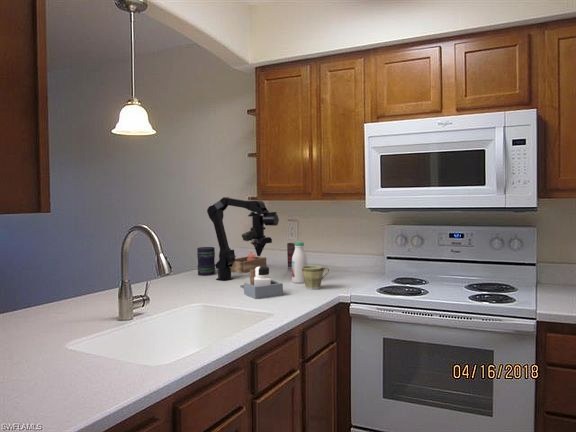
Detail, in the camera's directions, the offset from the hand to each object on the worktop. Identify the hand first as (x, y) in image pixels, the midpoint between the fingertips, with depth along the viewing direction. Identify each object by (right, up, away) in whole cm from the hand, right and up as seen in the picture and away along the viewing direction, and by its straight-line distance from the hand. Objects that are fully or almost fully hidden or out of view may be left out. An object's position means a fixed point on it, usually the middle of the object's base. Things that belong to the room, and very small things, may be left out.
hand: (258, 256), depth 231 cm
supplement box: (+19, -11, +35) cm, 41 cm away
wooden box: (-10, -11, +42) cm, 45 cm away
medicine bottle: (+3, -14, -27) cm, 31 cm away
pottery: (-10, -12, +41) cm, 44 cm away
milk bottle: (+21, -13, -1) cm, 24 cm away
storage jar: (-31, -13, +26) cm, 42 cm away
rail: (-5, -14, -14) cm, 20 cm away
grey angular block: (+4, -14, -29) cm, 33 cm away
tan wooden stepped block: (0, -14, -23) cm, 27 cm away
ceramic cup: (+28, -14, -17) cm, 36 cm away
